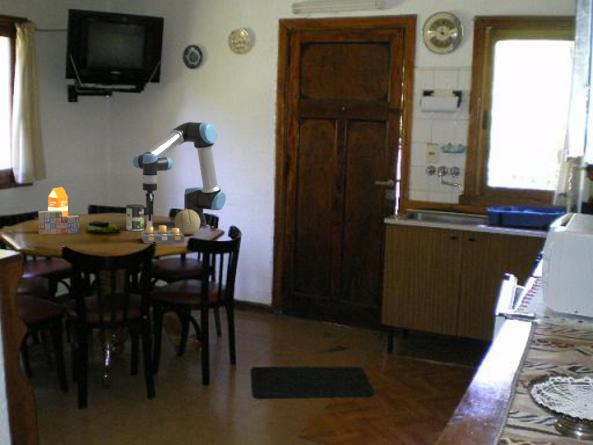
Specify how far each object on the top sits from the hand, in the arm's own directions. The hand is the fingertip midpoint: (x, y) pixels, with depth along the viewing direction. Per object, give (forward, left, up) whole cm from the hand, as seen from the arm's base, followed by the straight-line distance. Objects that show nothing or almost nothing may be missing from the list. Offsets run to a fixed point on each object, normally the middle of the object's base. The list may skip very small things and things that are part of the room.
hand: (149, 226), depth 383 cm
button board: (-7, 0, -8) cm, 11 cm away
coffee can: (+3, -36, -8) cm, 37 cm away
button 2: (-14, 0, -6) cm, 15 cm away
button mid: (-7, 0, -5) cm, 9 cm away
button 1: (0, 0, -5) cm, 5 cm away
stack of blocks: (+46, -30, -8) cm, 55 cm away
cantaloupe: (-24, -16, -8) cm, 29 cm away
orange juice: (+45, -72, -8) cm, 85 cm away
